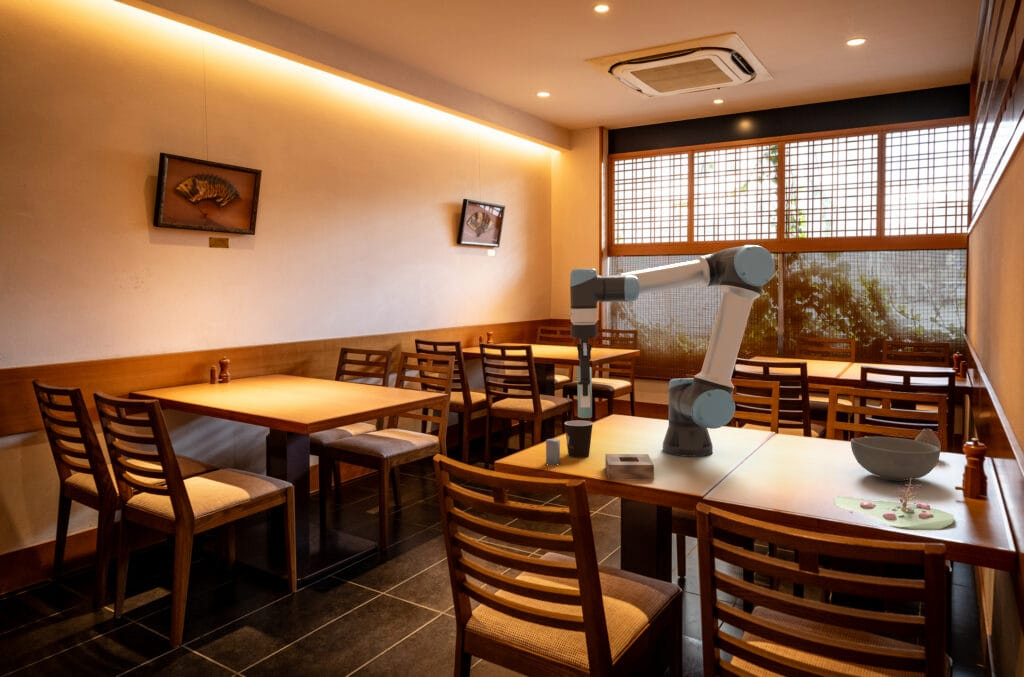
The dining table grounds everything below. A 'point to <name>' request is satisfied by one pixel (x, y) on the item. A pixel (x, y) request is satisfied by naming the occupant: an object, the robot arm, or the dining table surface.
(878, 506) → the plant
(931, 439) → the vase
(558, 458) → the grey-blue block
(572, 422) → the coffee mug
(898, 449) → the bowl
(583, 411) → the teal dowel
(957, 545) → the dining table surface
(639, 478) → the socket block
